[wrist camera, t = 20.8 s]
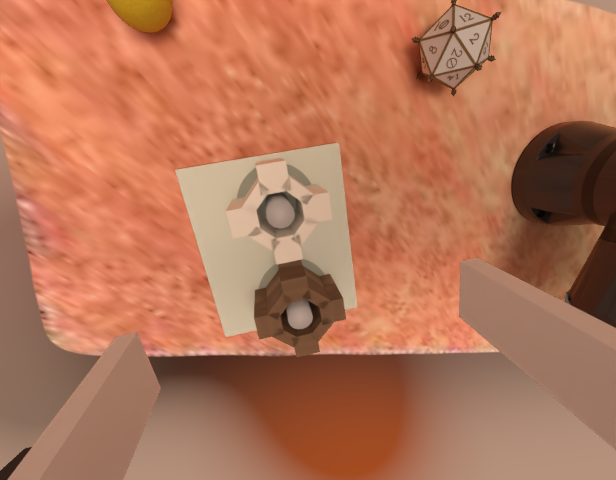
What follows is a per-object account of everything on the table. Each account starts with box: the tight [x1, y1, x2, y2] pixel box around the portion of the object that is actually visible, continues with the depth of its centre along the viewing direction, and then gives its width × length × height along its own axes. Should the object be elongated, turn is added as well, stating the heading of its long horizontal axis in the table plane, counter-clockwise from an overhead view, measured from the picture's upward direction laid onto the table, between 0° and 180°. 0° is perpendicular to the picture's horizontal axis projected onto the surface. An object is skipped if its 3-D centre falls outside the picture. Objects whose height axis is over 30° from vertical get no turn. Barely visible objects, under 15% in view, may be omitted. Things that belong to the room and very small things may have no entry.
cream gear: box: [226, 158, 332, 265], centre depth 33 cm, size 11×11×7 cm
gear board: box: [175, 143, 357, 337], centre depth 36 cm, size 20×24×9 cm
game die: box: [412, 0, 501, 96], centre depth 33 cm, size 9×8×10 cm
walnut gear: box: [254, 260, 346, 357], centre depth 38 cm, size 11×11×7 cm
